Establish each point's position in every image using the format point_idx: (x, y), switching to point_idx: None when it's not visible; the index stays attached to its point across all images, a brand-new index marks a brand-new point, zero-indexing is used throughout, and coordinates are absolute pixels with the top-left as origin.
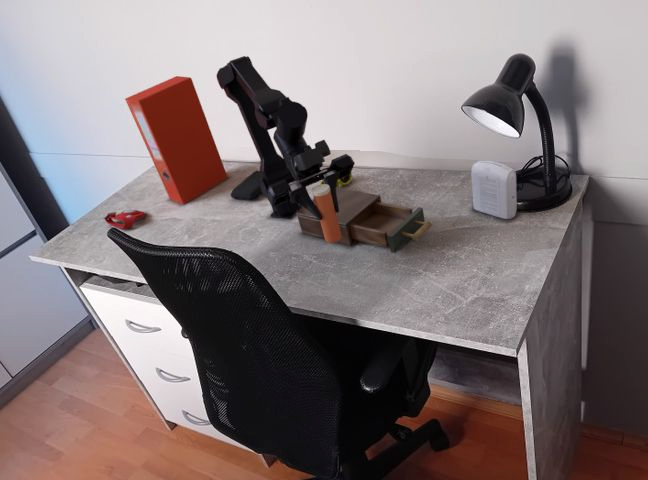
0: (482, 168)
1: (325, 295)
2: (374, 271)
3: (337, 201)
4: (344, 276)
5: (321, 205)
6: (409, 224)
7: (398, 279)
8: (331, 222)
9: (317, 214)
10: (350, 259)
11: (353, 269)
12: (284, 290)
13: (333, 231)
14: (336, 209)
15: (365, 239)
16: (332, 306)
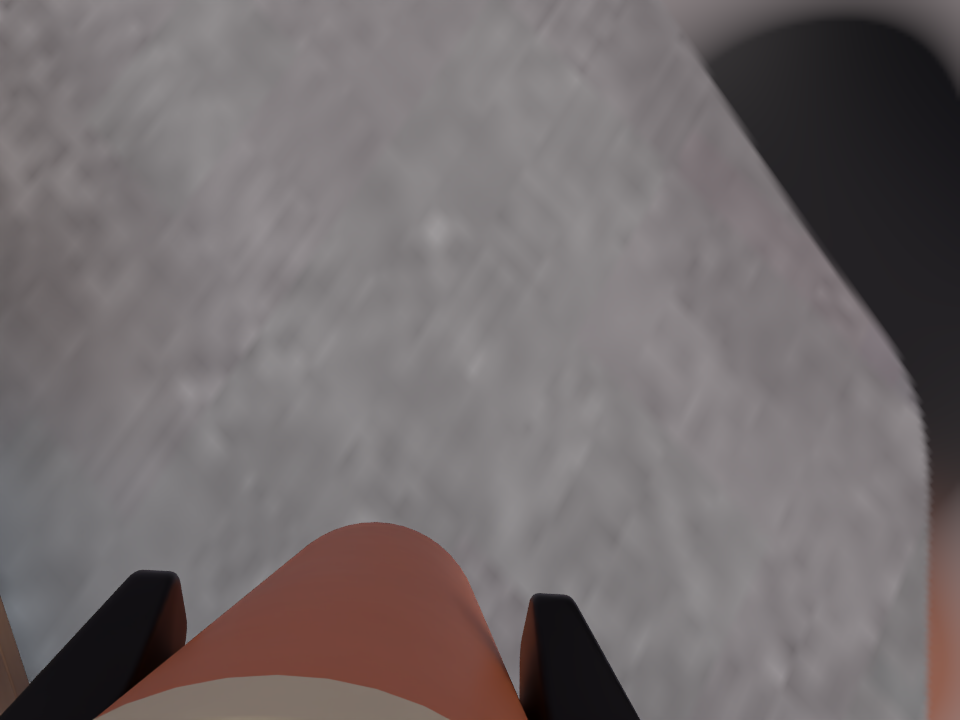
0: None
1: (683, 317)
2: (225, 283)
3: (3, 715)
4: (444, 418)
5: (489, 683)
6: None
7: (154, 51)
8: (380, 551)
9: (609, 672)
10: None
11: (335, 445)
12: (910, 638)
13: (390, 539)
14: (167, 604)
15: (7, 675)
16: (705, 161)
